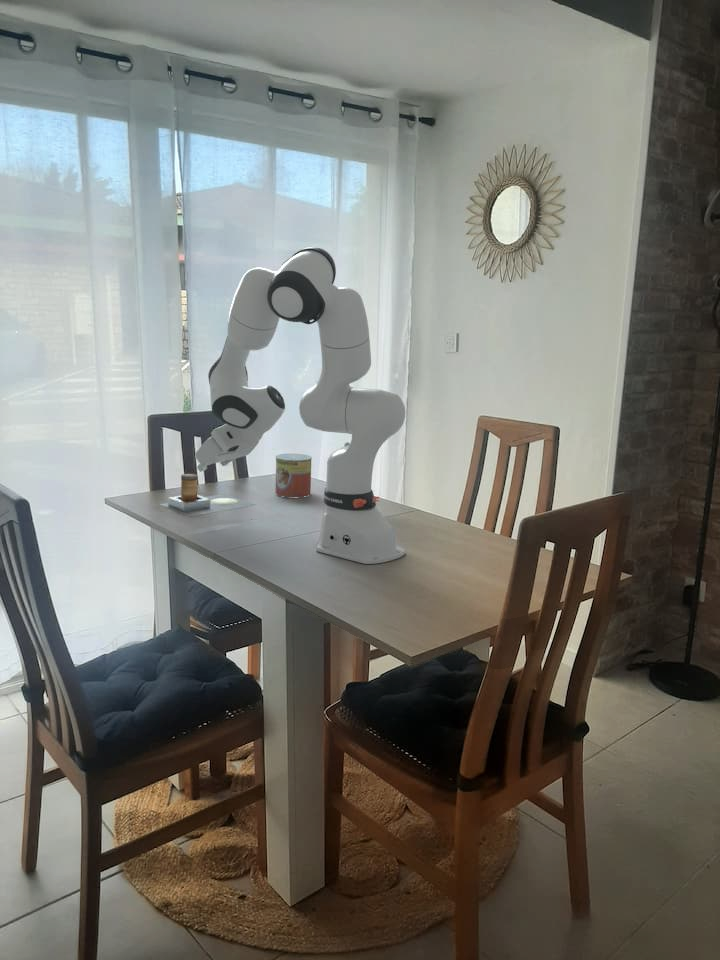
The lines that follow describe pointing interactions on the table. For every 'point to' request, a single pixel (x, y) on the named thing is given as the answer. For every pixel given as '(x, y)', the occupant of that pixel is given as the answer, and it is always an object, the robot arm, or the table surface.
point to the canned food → (293, 475)
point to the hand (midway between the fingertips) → (211, 466)
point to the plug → (188, 487)
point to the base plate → (215, 505)
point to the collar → (189, 503)
